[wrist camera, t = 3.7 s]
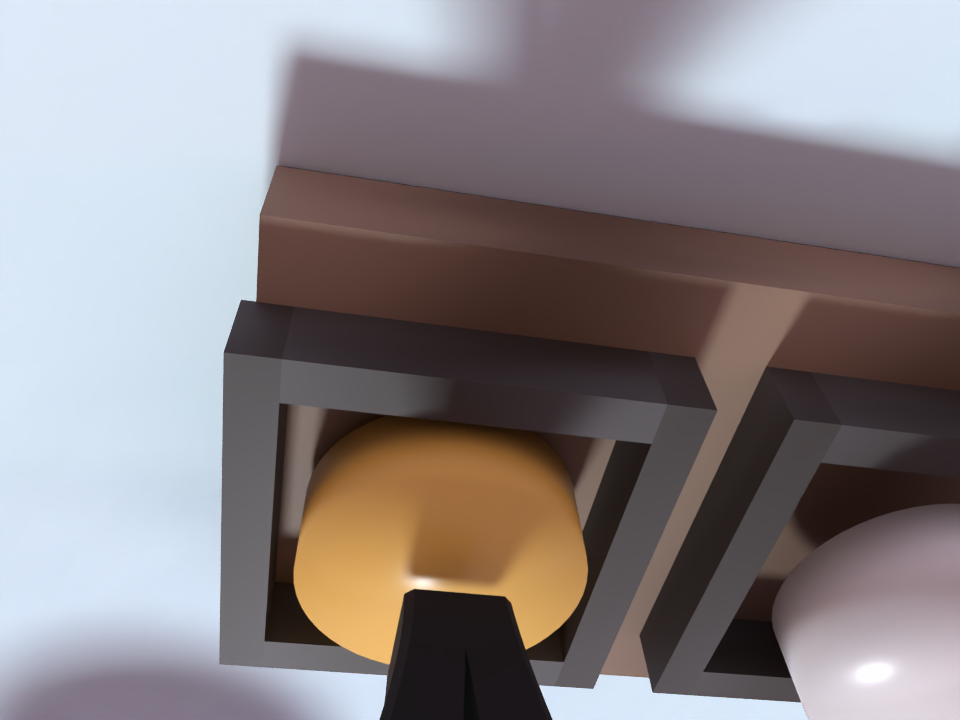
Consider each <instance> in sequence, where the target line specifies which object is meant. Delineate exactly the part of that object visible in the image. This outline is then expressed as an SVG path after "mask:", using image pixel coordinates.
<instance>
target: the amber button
mask: <svg viewBox="0 0 960 720" xmlns="http://www.w3.org/2000/svg"><path fill="white" fill-rule="evenodd" d="M587 575H588V565H587V556H586V551H585V545H584V540H583V535H582V530H581V525H580V519H579V514H578V509H577V504H576V499H575V493H574V488H573V484H572V481H571V478H570V474H569V472H568V470H567V468H566V466H565V464H564V463H563V461H562V460H561V458H560V457H559V456H558V454H557V453H556V452H555V450H553V449H552V448H551V447H550V446H549V445H548V444H547V443H546V442H545V441H544V440H543V439H542V438H540V437H539V436H538V435H536V434H535V433H533V432H532V431H529V430H520V429H511V428H502V427H493V426H484V425H475V424H466V423H457V422H447V421H438V420H429V419H420V418H411V417H402V416H393V415H387V416H385V417H382V418H379V419H376V420H374V421H371V422H369V423H367V424H365V425H363V426H361V427H359V428H357V429H355V430H354V431H352V432H351V433H349V434H348V435H346V436H345V437H343V438H342V439H341V440H339V441H338V442H337V443H336V444H335V445H334V446H333V447H331V448H330V449H329V450H328V452H327V453H326V454H325V455H324V456H323V458H322V459H321V460H320V461H319V463H318V465H317V466H316V468H315V470H314V471H313V473H312V475H311V478H310V481H309V483H308V486H307V491H306V497H305V503H304V509H303V515H302V521H301V527H300V534H299V540H298V546H297V552H296V559H295V565H294V586H295V591H296V596H297V598H298V600H299V603H300V605H301V607H302V609H303V610H304V612H305V614H306V615H307V617H308V618H309V619H310V621H311V622H312V623H313V624H314V625H315V626H316V627H317V628H318V629H319V630H320V631H321V632H322V633H323V634H325V635H326V636H327V637H328V638H329V639H331V640H333V641H334V642H336V643H337V644H339V645H340V646H342V647H344V648H346V649H348V650H350V651H352V652H354V653H356V654H358V655H361V656H363V657H366V658H369V659H371V660H375V661H378V662H382V663H385V664H390V661H391V656H392V651H393V646H394V641H395V636H396V631H397V626H398V622H399V617H400V612H401V607H402V602H403V597H404V594H405V593H407V592H409V591H411V590H413V589H423V590H434V591H446V592H458V593H470V594H482V595H494V596H505V597H506V598H507V599H508V600H509V601H510V602H511V604H512V607H513V611H514V615H515V618H516V621H517V624H518V628H519V631H520V634H521V637H522V640H523V643H524V646H525V649H528V648H530V647H532V646H534V645H536V644H537V643H539V642H541V641H542V640H544V639H545V638H547V637H548V636H550V635H551V634H552V633H553V632H554V631H556V630H557V629H558V628H559V627H560V626H561V625H562V624H563V623H564V622H565V621H566V620H567V619H568V618H569V617H570V616H571V614H572V613H573V611H574V610H575V609H576V607H577V606H578V604H579V602H580V600H581V598H582V596H583V593H584V590H585V586H586V583H587Z"/></svg>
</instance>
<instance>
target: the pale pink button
mask: <svg viewBox="0 0 960 720" xmlns="http://www.w3.org/2000/svg"><path fill="white" fill-rule="evenodd" d="M772 625H773V630H774V633H775V635H776V638H777V641H778V643H779V646H780V649H781V651H782V654H783V656H784V659H785V662H786V664H787V667H788V669H789V672H790V675H791V677H792V680H793V682H794V685H795V688H796V690H797V693H798V695H799V698H800V701H801V703H802V706H803V708H804V711H805V714H806V716H807V717H808V719H809V720H960V504H933V505H926V506H918V507H912V508H908V509H903V510H899V511H895V512H891V513H888V514H885V515H882V516H878V517H875V518H873V519H870V520H868V521H865V522H863V523H860V524H858V525H856V526H854V527H852V528H850V529H848V530H846V531H844V532H841V533H840V534H838V535H836V536H835V537H833V538H831V539H830V540H828V541H826V542H825V543H824V544H822V545H821V546H819V547H818V548H817V549H815V550H814V551H813V552H811V553H810V554H809V555H808V556H807V557H806V558H805V559H803V560H802V561H801V562H800V563H799V564H798V565H797V566H796V567H795V569H794V570H793V571H792V572H791V573H790V574H789V575H788V577H787V578H786V580H785V581H784V583H783V584H782V586H781V588H780V590H779V592H778V594H777V596H776V598H775V601H774V605H773V609H772Z"/></svg>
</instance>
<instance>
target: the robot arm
mask: <svg viewBox="0 0 960 720" xmlns="http://www.w3.org/2000/svg"><path fill="white" fill-rule="evenodd" d="M380 720H552V718H551V715H550V713H549V710H548V708H547V705H546V703H545V700H544V698H543V695H542V693H541V690H540V687H539V685H538V682H537V679H536V677H535V674H534V672H533V669H532V666H531V663H530V660H529V658H528V655H527V652H526V649H525V646H524V643H523V640H522V637H521V634H520V631H519V628H518V624H517V621H516V618H515V615H514V611H513V607H512V604H511V602H510V601H509V600H508V599H507V598H506V597H505V596H494V595H482V594H470V593H458V592H446V591H434V590H423V589H413V590H411V591H409V592H407V593H405V594H404V597H403V602H402V607H401V612H400V617H399V622H398V626H397V631H396V636H395V641H394V646H393V651H392V656H391V661H390V665H389V670H388V675H387V686H386V696H385V704H384V707H383V711H382V714H381V717H380Z"/></svg>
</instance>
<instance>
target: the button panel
mask: <svg viewBox="0 0 960 720" xmlns="http://www.w3.org/2000/svg"><path fill="white" fill-rule="evenodd" d="M387 415H393V416H402V417H411V418H420V419H429V420H438V421H447V422H457V423H466V424H475V425H484V426H493V427H502V428H511V429H520V430H529V431H532V432H533V433H535V434H536V435H538V436H539V437H540V438H542V439H543V440H544V441H545V442H546V443H547V444H548V445H549V446H550V447H551V448H552V449H553V450H555V452H556V453H557V454H558V456H559V457H560V458H561V460H562V461H563V463H564V464H565V466H566V468H567V470H568V472H569V474H570V478H571V481H572V484H573V488H574V493H575V499H576V504H577V509H578V514H579V519H580V525H581V530H582V535H583V540H584V545H585V551H586V556H587V565H588V575H587V583H586V586H585V590H584V593H583V596H582V598H581V600H580V602H579V604H578V606H577V607H576V609H575V610H574V611H573V613H572V614H571V616H570V617H569V618H568V619H567V620H566V621H565V622H564V623H563V624H562V625H561V626H560V627H559V628H558V629H557V630H556V631H554V632H553V633H552V634H551V635H550V636H548V637H547V638H545V639H544V640H542V641H541V642H539V643H537V644H536V645H534V646H532V647H530V648H528V649H526V652H527V655H528V658H529V660H530V663H531V666H532V669H533V672H534V674H535V677H536V679H537V682H538V685H544V686H560V687H575V688H590V689H593V688H594V686H595V683H596V681H597V679H598V677H599V675H600V674H604V675H619V676H633V677H648V678H649V679H650V683H651V687H652V692H653V693H667V694H682V695H697V696H712V697H728V698H743V699H758V700H774V701H789V702H801V701H800V698H799V695H798V693H797V690H796V688H795V685H794V682H793V680H792V677H791V675H790V672H789V669H788V667H787V664H786V662H785V659H784V656H783V654H782V651H781V649H780V646H779V643H778V641H777V638H776V635H775V633H774V630H773V625H772V609H773V605H774V601H775V598H776V596H777V594H778V592H779V590H780V588H781V586H782V584H783V583H784V581H785V580H786V578H787V577H788V575H789V574H790V573H791V572H792V571H793V570H794V569H795V567H796V566H797V565H798V564H799V563H800V562H801V561H802V560H803V559H805V558H806V557H807V556H808V555H809V554H810V553H811V552H813V551H814V550H815V549H817V548H818V547H819V546H821V545H822V544H824V543H825V542H826V541H828V540H830V539H831V538H833V537H835V536H836V535H838V534H840V533H841V532H844V531H846V530H848V529H850V528H852V527H854V526H856V525H858V524H860V523H863V522H865V521H868V520H870V519H873V518H875V517H878V516H882V515H885V514H888V513H891V512H895V511H899V510H903V509H908V508H912V507H918V506H926V505H933V504H960V268H955V267H949V266H942V265H935V264H929V263H922V262H915V261H909V260H902V259H895V258H889V257H882V256H875V255H869V254H862V253H855V252H849V251H842V250H835V249H829V248H822V247H815V246H809V245H802V244H795V243H789V242H782V241H775V240H769V239H762V238H755V237H749V236H742V235H735V234H729V233H722V232H715V231H709V230H702V229H695V228H689V227H682V226H675V225H669V224H662V223H655V222H649V221H642V220H635V219H629V218H622V217H615V216H609V215H602V214H595V213H589V212H582V211H575V210H568V209H562V208H555V207H548V206H542V205H535V204H528V203H522V202H515V201H508V200H502V199H495V198H488V197H482V196H475V195H468V194H462V193H455V192H448V191H442V190H435V189H428V188H422V187H415V186H408V185H402V184H395V183H388V182H382V181H375V180H368V179H362V178H355V177H348V176H342V175H335V174H328V173H322V172H315V171H308V170H302V169H295V168H288V167H282V166H277V167H276V170H275V173H274V176H273V178H272V181H271V184H270V187H269V190H268V193H267V196H266V199H265V201H264V204H263V207H262V210H261V213H260V224H259V249H258V274H257V300H256V302H254V301H246V300H241V302H240V305H239V308H238V311H237V314H236V317H235V320H234V323H233V326H232V329H231V332H230V335H229V338H228V341H227V344H226V347H225V350H224V375H223V448H222V521H221V594H220V664H223V665H239V666H254V667H269V668H285V669H300V670H315V671H330V672H346V673H361V674H376V675H388V670H389V665H390V664H385V663H382V662H378V661H375V660H371V659H369V658H366V657H363V656H361V655H358V654H356V653H354V652H352V651H350V650H348V649H346V648H344V647H342V646H340V645H339V644H337V643H336V642H334V641H333V640H331V639H329V638H328V637H327V636H326V635H325V634H323V633H322V632H321V631H320V630H319V629H318V628H317V627H316V626H315V625H314V624H313V623H312V622H311V621H310V619H309V618H308V617H307V615H306V614H305V612H304V610H303V609H302V607H301V605H300V603H299V600H298V598H297V596H296V591H295V586H294V565H295V559H296V552H297V546H298V540H299V534H300V527H301V521H302V515H303V509H304V503H305V497H306V491H307V486H308V483H309V481H310V478H311V475H312V473H313V471H314V470H315V468H316V466H317V465H318V463H319V461H320V460H321V459H322V458H323V456H324V455H325V454H326V453H327V452H328V450H329V449H330V448H331V447H333V446H334V445H335V444H336V443H337V442H338V441H339V440H341V439H342V438H343V437H345V436H346V435H348V434H349V433H351V432H352V431H354V430H355V429H357V428H359V427H361V426H363V425H365V424H367V423H369V422H371V421H374V420H376V419H379V418H382V417H385V416H387Z"/></svg>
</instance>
